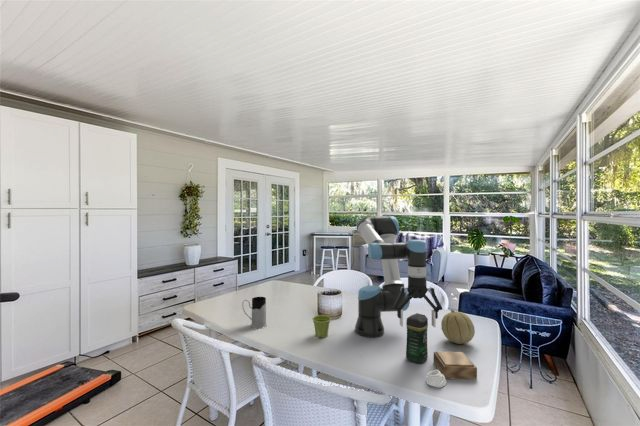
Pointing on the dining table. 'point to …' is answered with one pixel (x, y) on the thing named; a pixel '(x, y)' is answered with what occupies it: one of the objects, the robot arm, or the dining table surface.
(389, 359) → the dining table surface
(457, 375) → the walnut pedestal block
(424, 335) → the coffee jar
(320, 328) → the plant pot
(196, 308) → the dining table surface
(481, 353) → the dining table surface
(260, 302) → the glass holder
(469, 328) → the cantaloupe
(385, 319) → the dining table surface
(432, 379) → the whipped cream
